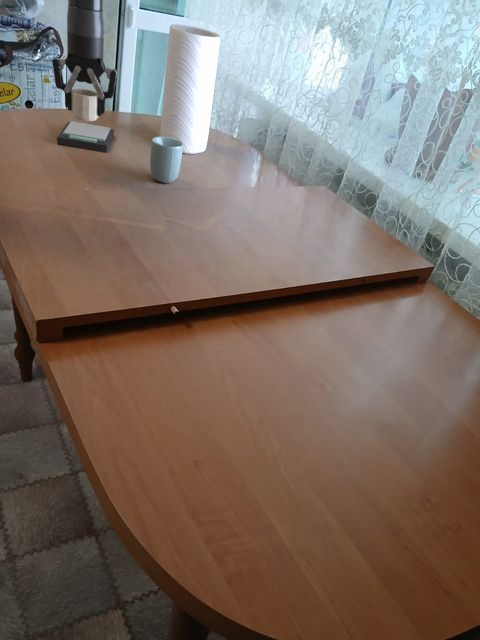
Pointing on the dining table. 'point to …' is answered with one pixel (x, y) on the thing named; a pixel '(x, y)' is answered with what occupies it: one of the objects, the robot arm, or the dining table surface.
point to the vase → (189, 86)
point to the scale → (86, 136)
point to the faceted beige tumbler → (84, 104)
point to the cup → (165, 158)
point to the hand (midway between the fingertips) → (85, 112)
